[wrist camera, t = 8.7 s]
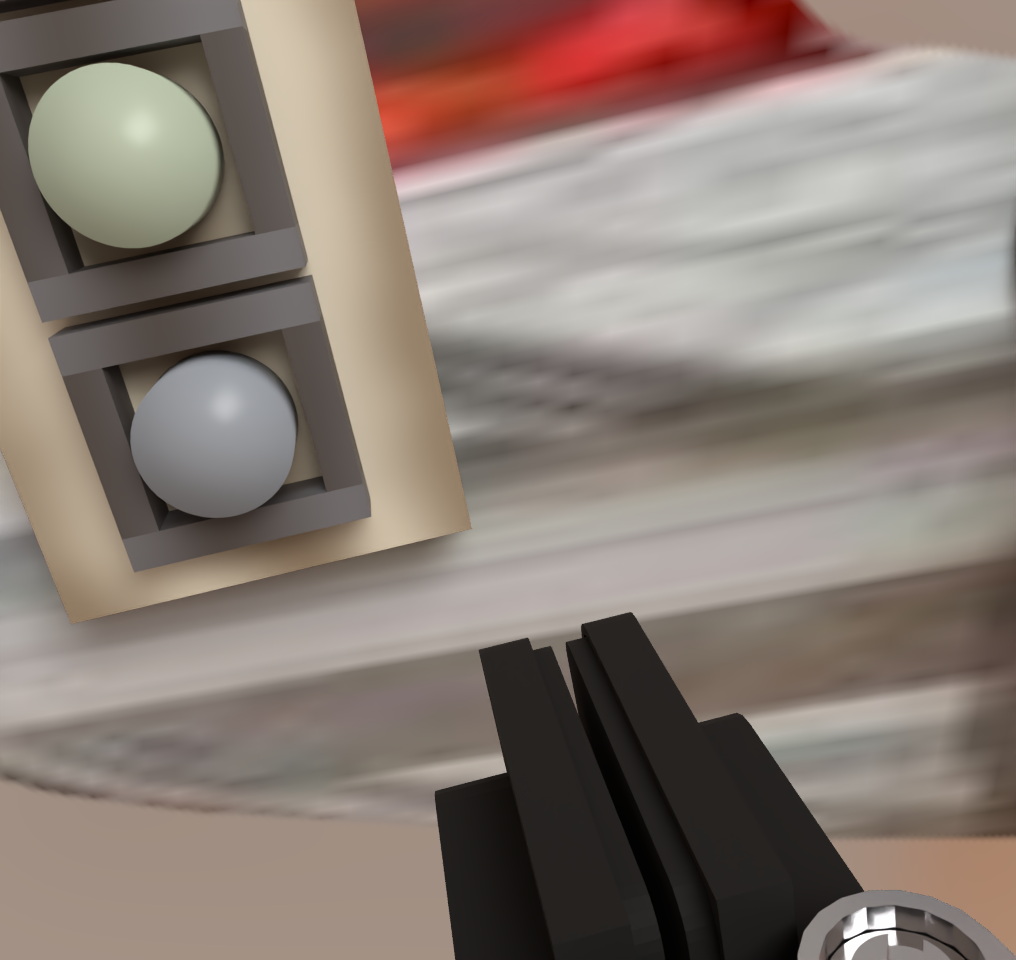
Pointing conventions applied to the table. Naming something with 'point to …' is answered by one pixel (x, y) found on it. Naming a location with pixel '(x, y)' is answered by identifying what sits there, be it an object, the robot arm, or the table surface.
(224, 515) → the button slate
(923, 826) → the table surface
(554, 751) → the robot arm
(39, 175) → the button sage
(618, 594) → the table surface
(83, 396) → the button board
